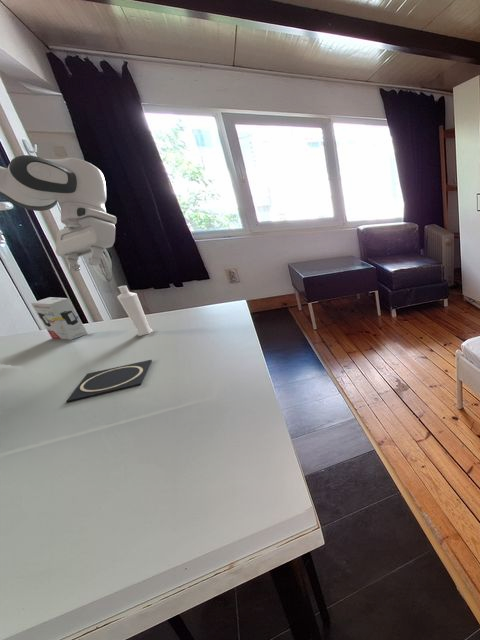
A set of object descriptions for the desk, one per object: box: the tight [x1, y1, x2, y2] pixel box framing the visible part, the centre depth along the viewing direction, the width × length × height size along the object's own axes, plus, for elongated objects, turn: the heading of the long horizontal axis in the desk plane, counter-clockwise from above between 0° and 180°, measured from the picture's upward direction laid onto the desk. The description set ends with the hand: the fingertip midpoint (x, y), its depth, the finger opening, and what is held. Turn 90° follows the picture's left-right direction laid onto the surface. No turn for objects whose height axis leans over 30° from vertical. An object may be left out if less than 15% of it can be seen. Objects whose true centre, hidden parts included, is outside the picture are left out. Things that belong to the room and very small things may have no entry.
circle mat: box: [66, 359, 153, 403], centre depth 88 cm, size 13×14×1 cm
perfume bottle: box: [116, 285, 154, 337], centre depth 110 cm, size 5×4×15 cm
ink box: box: [30, 296, 89, 341], centre depth 111 cm, size 9×5×12 cm, turn 76°
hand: (84, 267), depth 101 cm, fingers open, 8 cm apart
